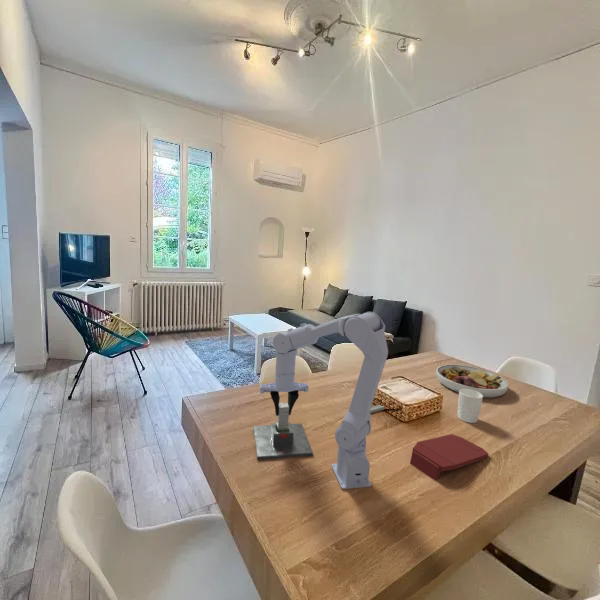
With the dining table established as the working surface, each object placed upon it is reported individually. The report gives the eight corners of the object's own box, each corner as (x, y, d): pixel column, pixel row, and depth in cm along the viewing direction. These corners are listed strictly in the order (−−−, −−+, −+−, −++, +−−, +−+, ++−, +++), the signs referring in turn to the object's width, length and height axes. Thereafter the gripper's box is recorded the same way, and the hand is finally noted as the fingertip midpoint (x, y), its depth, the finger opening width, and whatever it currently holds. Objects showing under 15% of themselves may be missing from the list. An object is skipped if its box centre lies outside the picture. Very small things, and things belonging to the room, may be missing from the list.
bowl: (437, 369, 177) (439, 355, 176) (503, 382, 164) (505, 367, 163) (432, 389, 150) (434, 373, 149) (510, 407, 138) (513, 389, 136)
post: (287, 431, 102) (289, 407, 101) (277, 432, 101) (279, 407, 100) (286, 426, 105) (287, 402, 104) (276, 426, 104) (277, 402, 103)
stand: (312, 455, 98) (313, 441, 97) (257, 459, 95) (258, 445, 94) (301, 426, 113) (302, 413, 113) (253, 428, 110) (254, 416, 109)
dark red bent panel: (450, 447, 113) (404, 460, 99) (453, 433, 113) (407, 444, 98) (487, 467, 103) (441, 485, 89) (490, 452, 103) (445, 467, 88)
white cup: (454, 420, 124) (458, 394, 122) (456, 411, 131) (459, 387, 129) (479, 426, 120) (483, 400, 119) (479, 417, 127) (483, 392, 126)
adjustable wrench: (348, 421, 120) (348, 416, 119) (338, 412, 125) (338, 408, 125) (402, 409, 131) (402, 405, 130) (390, 402, 136) (391, 397, 136)
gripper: (306, 366, 106) (303, 406, 108) (259, 366, 103) (257, 408, 105) (311, 374, 99) (308, 417, 101) (261, 375, 96) (259, 420, 98)
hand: (282, 413), depth 102 cm, fingers closed on post, 3 cm apart
